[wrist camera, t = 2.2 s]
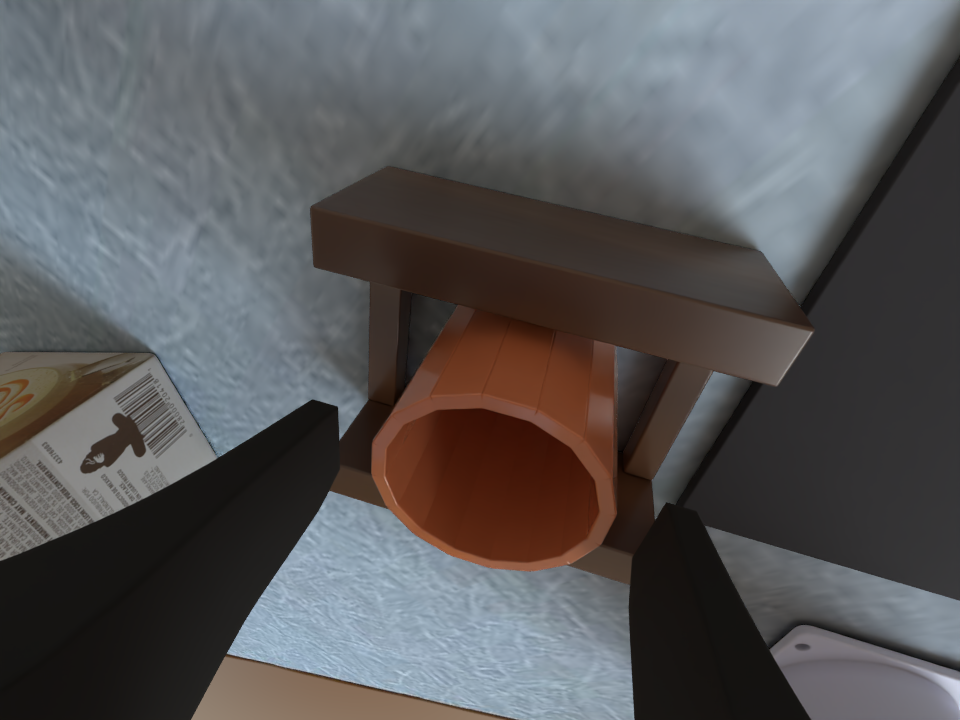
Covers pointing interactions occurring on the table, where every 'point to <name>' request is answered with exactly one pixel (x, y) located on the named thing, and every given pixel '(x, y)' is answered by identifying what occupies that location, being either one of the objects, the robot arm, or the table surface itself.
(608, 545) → the stand
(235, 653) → the table surface
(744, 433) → the mat
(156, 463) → the coffee box
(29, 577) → the robot arm
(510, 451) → the cup
